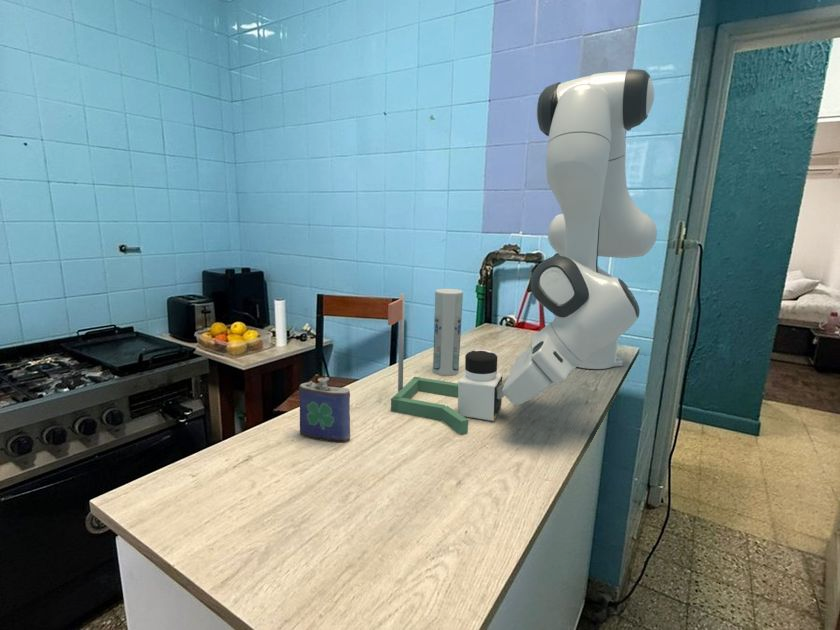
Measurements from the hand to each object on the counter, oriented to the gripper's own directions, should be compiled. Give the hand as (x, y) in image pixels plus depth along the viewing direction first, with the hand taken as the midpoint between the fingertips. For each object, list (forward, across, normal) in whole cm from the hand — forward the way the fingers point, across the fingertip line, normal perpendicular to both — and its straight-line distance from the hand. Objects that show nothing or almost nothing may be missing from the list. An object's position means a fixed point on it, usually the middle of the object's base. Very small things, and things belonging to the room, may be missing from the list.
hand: (496, 393), depth 85 cm
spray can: (+14, -19, -8) cm, 25 cm away
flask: (+22, +20, -15) cm, 33 cm away
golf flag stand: (+11, 0, -5) cm, 12 cm away
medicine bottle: (+5, 0, +1) cm, 5 cm away
